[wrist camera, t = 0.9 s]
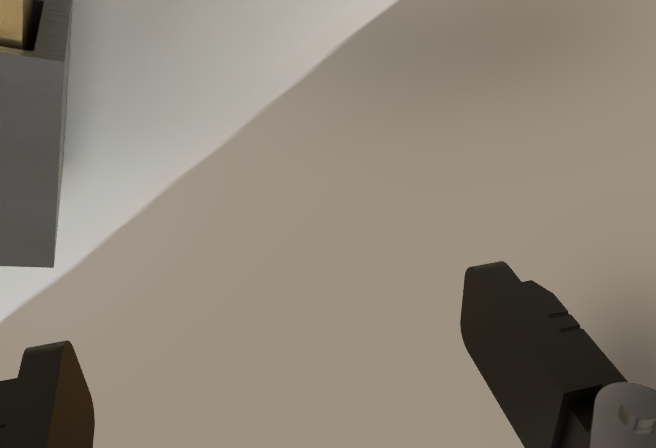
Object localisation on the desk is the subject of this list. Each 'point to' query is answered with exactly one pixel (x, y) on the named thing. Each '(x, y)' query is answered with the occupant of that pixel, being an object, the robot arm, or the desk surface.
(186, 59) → the desk surface
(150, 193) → the desk surface
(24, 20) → the brass bar
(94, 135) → the desk surface
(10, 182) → the grey sleeve
